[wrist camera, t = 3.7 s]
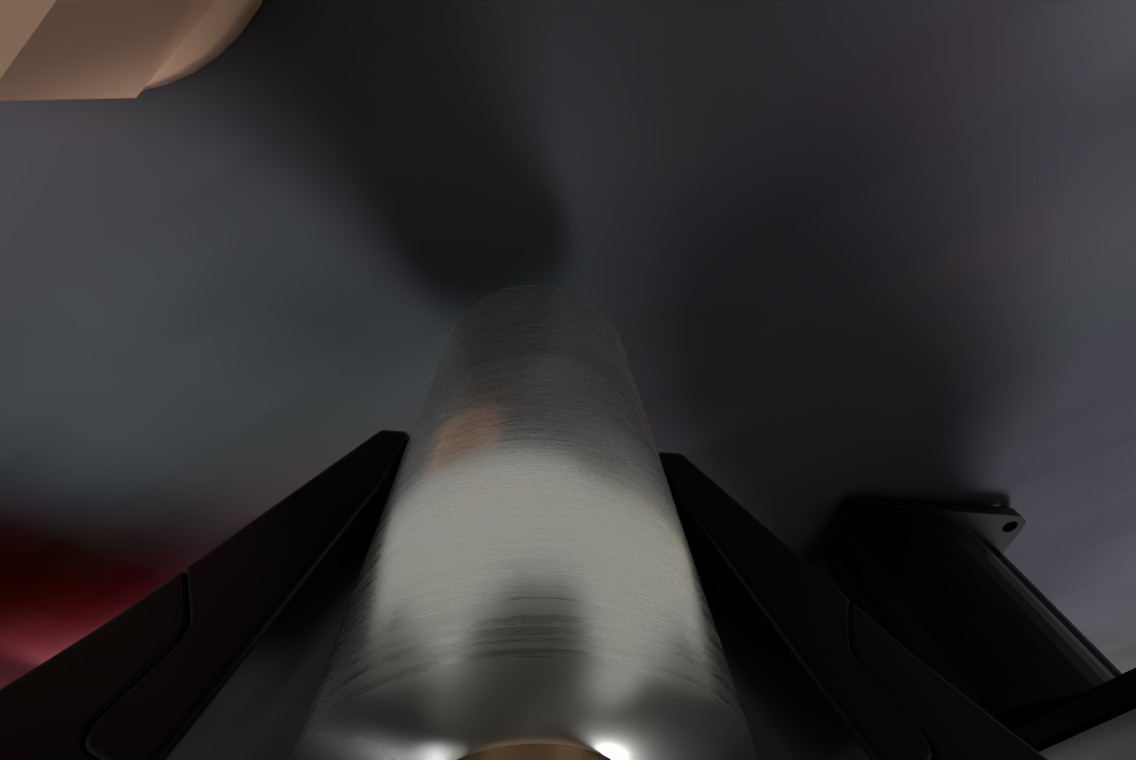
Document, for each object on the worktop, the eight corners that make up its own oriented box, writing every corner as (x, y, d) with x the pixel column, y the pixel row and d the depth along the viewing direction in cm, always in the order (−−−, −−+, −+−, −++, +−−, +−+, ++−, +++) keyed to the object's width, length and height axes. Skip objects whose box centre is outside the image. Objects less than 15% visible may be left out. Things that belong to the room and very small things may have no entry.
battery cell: (643, 296, 10) (899, 804, 3) (608, 452, 12) (711, 988, 5) (442, 273, 10) (168, 805, 3) (439, 438, 12) (279, 1009, 4)
